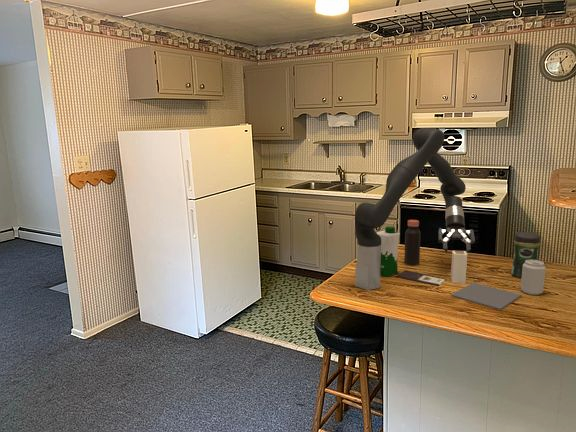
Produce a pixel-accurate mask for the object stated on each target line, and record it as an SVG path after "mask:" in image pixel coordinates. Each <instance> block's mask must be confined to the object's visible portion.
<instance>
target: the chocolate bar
mask: <svg viewBox="0 0 576 432" xmlns="http://www.w3.org/2000/svg"><path fill="white" fill-rule="evenodd" d="M395 278H398V279H403V280H408V281H413V282H417V283H421V284H424V285H431V286H433V287H434V286H435V287H440V285H442V284H444V283H445V282H447V278H444V277H440V276H435V275H430V274H425V273H419V272H415V271H410V270H403V271H402V272H400V273H399V274H396V275H395Z"/></svg>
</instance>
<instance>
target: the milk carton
mask: <svg viewBox="0 0 576 432" xmlns="http://www.w3.org/2000/svg"><path fill="white" fill-rule="evenodd" d="M376 233H377V234H378V235H379V236H380V237H381V277H386V278H390V277H391V276H396V275H399V274H398V253H399V239H400V235H401V233H400V232H397V231H396V227H394V226H385V230H381V231H377V232H376Z"/></svg>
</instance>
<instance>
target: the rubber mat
mask: <svg viewBox="0 0 576 432" xmlns="http://www.w3.org/2000/svg"><path fill="white" fill-rule="evenodd" d="M450 297H453V298H457V299H460V300H463V301H466V302H470V303H474V304H477V305H481V306H484V307H488V308H491V309H494V310H498V311H502V310H503V309H505V308H506V307H508V306H509V305H510V304H513V303H514V302H515V301H517V300H518V299H519V298H521V297H522V294H521V293H517V292H511V291H507V290H504V289H500V288H496V287H492V286H488V285H484V284H481V283H477V282H472V283H470V284H468V285H467V286H464V287H463V288H461V289H458V290H457V291H455V292H453V293H451V294H450Z"/></svg>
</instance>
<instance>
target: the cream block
mask: <svg viewBox="0 0 576 432" xmlns="http://www.w3.org/2000/svg"><path fill="white" fill-rule="evenodd" d="M467 264H468V253H467V250H452V252H451V265H450V266H451V267H450V270H451V271H450V280H451V283H452V284H466V283H467V282H466V280H467V266H468V265H467Z"/></svg>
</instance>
